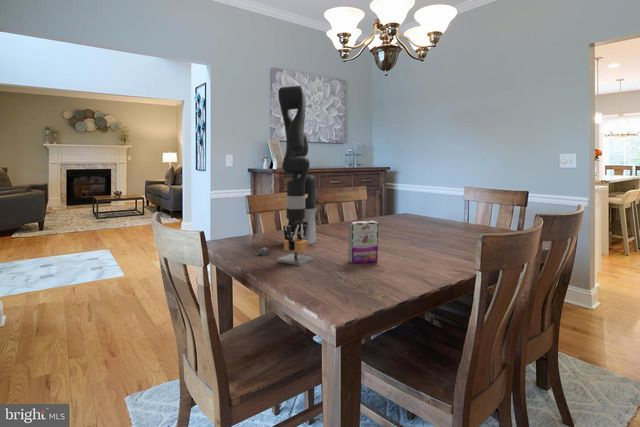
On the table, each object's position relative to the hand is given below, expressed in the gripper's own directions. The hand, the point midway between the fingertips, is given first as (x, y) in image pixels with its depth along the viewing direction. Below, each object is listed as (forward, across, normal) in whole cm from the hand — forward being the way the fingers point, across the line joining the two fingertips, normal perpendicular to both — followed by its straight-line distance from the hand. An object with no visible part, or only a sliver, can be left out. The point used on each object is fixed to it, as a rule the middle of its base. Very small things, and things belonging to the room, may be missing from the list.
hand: (295, 248), depth 150 cm
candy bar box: (+5, -14, +23) cm, 28 cm away
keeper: (+5, 0, 0) cm, 5 cm away
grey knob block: (+5, -1, -17) cm, 18 cm away
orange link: (+1, 0, 0) cm, 1 cm away
